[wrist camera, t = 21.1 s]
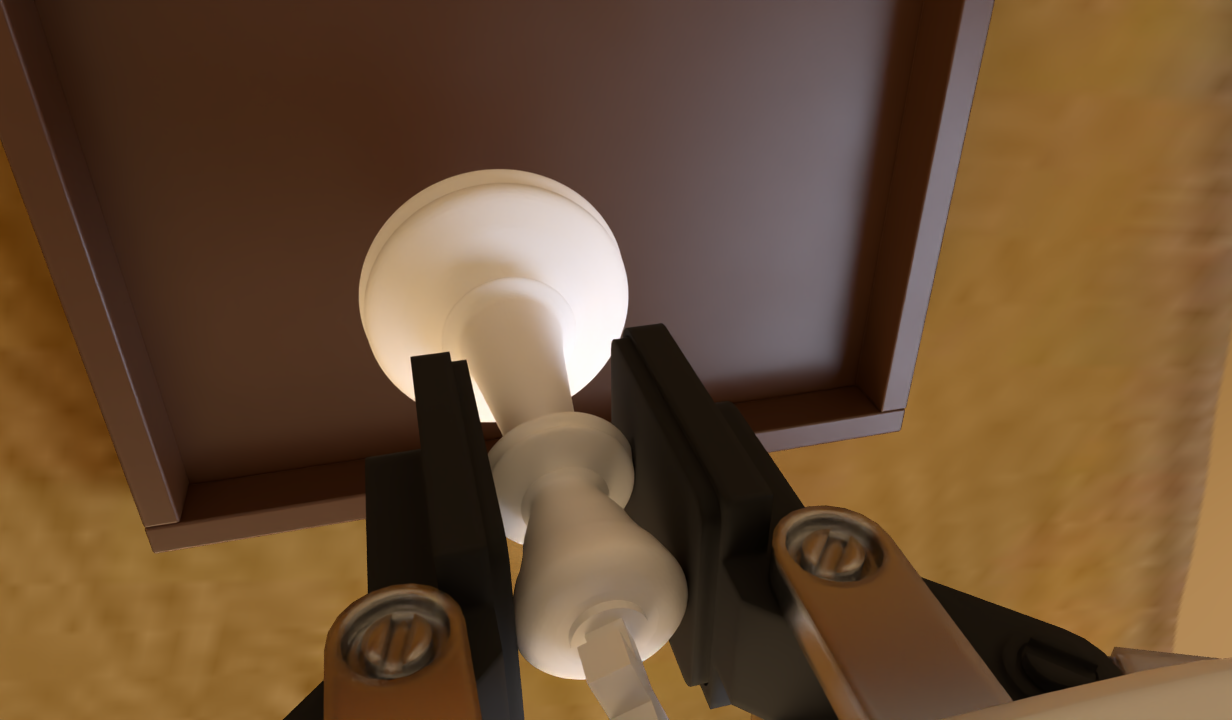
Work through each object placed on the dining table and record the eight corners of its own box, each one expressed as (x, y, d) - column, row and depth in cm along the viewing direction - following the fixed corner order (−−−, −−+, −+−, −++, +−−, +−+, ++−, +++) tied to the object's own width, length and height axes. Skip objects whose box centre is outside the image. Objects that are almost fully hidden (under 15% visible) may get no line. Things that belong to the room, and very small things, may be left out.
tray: (-42, -113, 15) (-93, -106, 13) (959, -119, 19) (1020, -114, 17) (168, 498, 22) (153, 555, 20) (864, 392, 26) (901, 432, 24)
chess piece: (570, 122, 15) (856, 482, 7) (655, 343, 18) (931, 792, 9) (305, 239, 15) (255, 764, 6) (433, 444, 17) (515, 992, 9)
